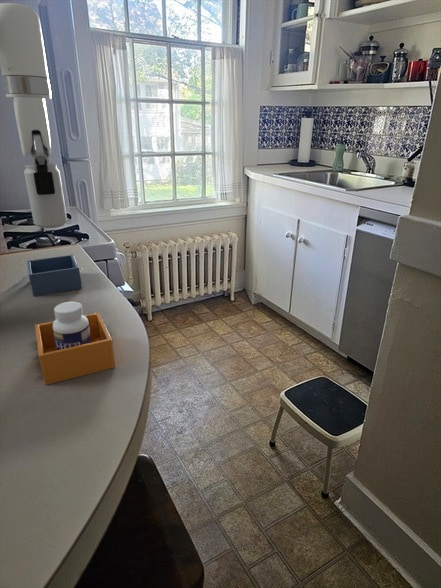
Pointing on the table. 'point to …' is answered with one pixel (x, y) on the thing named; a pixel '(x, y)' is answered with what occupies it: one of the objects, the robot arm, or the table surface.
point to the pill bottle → (70, 326)
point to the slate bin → (54, 275)
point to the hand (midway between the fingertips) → (45, 190)
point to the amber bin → (74, 352)
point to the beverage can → (46, 200)
